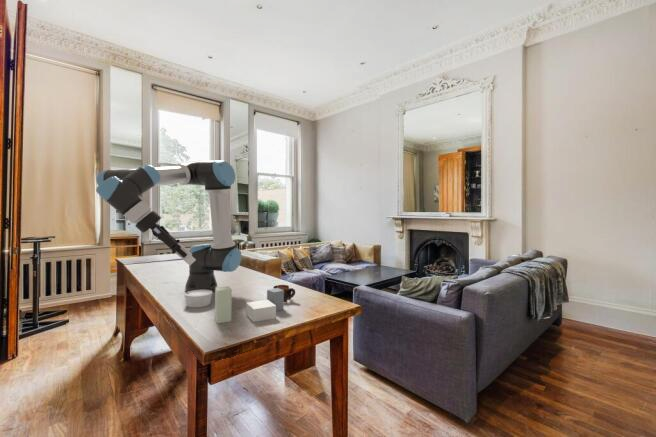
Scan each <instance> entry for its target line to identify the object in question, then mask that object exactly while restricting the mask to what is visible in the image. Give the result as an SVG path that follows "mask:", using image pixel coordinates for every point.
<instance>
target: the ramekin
mask: <svg viewBox="0 0 656 437" xmlns="http://www.w3.org/2000/svg"><path fill="white" fill-rule="evenodd" d="M213 294H214V293H213V291H211V290H204V289H203V290H193V291H189V292H185V293H184V298H185V305H186V306H187V307H188V308H193V309H195V308H203V307H207V306H209V305H210V304H211V303H212V298H213V297H212V296H213Z"/></svg>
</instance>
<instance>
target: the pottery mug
mask: <svg viewBox="0 0 656 437" xmlns="http://www.w3.org/2000/svg"><path fill="white" fill-rule="evenodd" d="M274 288H279V289H281V290H284V303H288V300H289V301H290V300H291V299H292V298H294V297H295V295H296V289H294V288H291V287H289V285H287V284H278V285H274V286H273V288H272V289H274Z"/></svg>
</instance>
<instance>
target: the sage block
mask: <svg viewBox="0 0 656 437" xmlns="http://www.w3.org/2000/svg"><path fill="white" fill-rule="evenodd" d="M214 292H215V293H214V294H215V295H214V297H215V298H214V320H215V322H216V324H222V323H228V322H232V300H233V298H232V296H233V295H232V293H233V291H232V288H231V287H230V286H228V285H227V286H219V287H218V286H217V287H216V288H215V290H214Z"/></svg>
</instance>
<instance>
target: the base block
mask: <svg viewBox="0 0 656 437" xmlns="http://www.w3.org/2000/svg"><path fill="white" fill-rule="evenodd" d="M245 303H246V304H245V305H246V308H245V315H246V316H247V317H248V318H249V319H250V320H251V321H252V322H253V323H255V322H260V321H261V322H262V321H267V320H272V319H276V318H277V311H276V305H274V304H273V303H272V302H270V301H269V300H267V299H263V300H256V301H250V302H245Z"/></svg>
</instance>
